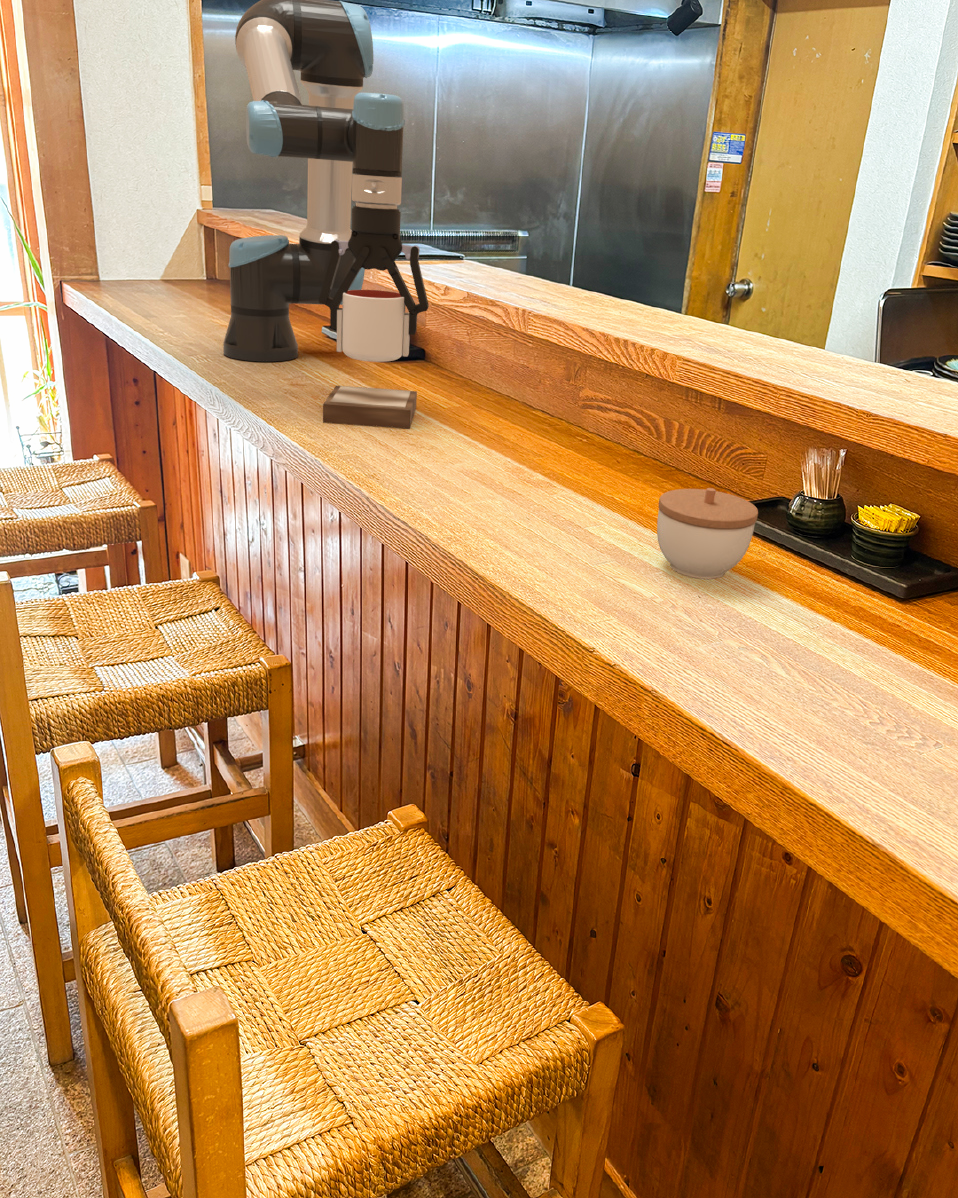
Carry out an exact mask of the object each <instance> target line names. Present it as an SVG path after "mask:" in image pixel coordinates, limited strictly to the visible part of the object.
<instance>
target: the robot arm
mask: <svg viewBox="0 0 958 1198" xmlns="http://www.w3.org/2000/svg"><path fill="white" fill-rule="evenodd" d="M234 37H235V38H234V41H235V49H236V53H237V56H238V58H239V61H240V62H241V64H242V65H243V66H244V68H246V72H247V78H248V81H249V86H250V91H251V95H252V101H250V102H248V104H247V105H246V110H245V132H246V133H245V135H246V136H245V137H246V145H247V149H248V150H249V151H250V152H251V153H252V154H255V155H262V156H268V157H270V158H277V157H280V158H294V159H295V158H296V159H297V158H298V159H307V209H306V210H307V212H306V214H307V218H306V219H307V223H306V226H305V228H304V229H303V230H301V232H299V235H298V239H299V240H298V243H290V240H289V238H288V236H286V235H282V234H278V235H274V234H273V235H272V234H271V235H257V236H255V235H254V236H248V237H243V238H238V239H236V240H233V241H232V242H231V244H230V246H229V250H228V251H229V257H228V258H229V259H228V260H229V262H228V268H229V285H230V288H229V289H230V293H229V294H230V318H229V322H228V325H227V329H226V333H225V336H224V339H223V343H222V344H223V355H224V356H226V357H228V358H230V359H231V358H232V359H235V360H239V361H240V360H242V361H247V362H248V361H249V362H268V363H269V362H281V361H282V362H283V361H291V360H294V359H296V358H298V356H299V345H298V342H297V339H296V335H295V332H294V330H293V325H292V323H291V320H290V305H292V304H293V305H325V306H327V307H328V308H329V310H330V315H329V316H330V317H329V319H330V320H329V326H330V330H336V352H337V353H342V352H343V349H342V311H343V307H340V306H343V293H347V291H348V290H363V288H362V287H363V284H364V279H365V273H366V271H365V270H377V271H383V272H384V271H386V270H387V272H388V275H389V276H390V278H391V279H392V281H393V283H394V285H395V287H396V290H397V291H398V293H400V295H401V297H404V303H405V308H406V309H407V311H408V312H405V315H404V338H403V354H402V357H408V356H409V354H410V336H415V335H416V333H417V327H418V314H419V313H422V312H423V313H424V312H427V311H428V309H429V301H428V296H427V292H426V288H425V283H424V280H423V274H422V270H421V266H420V262H419V260H420V247H419V246H418V245H407V244H403V242H402V241H401V215H402V214H401V212H402V211H400V209H398V206H400V205H401V204H402V189H403V188H402V187H403V186H402V184H403V183H402V182H403V178H402V174H403V173H402V171H403V152H404V151H403V146H404V145H403V144H404V126H405V124H406V123H405V121H406V120H405V118H404V117H405V115H404V113H405V112H404V101H403V99H402V98H401V96H399V95H396V94H388V93H380V92H361V91H362V89H363V88H364V78H365V79H367V78H370V77H372V75H373V70H374V42H373V34H372V28H371V23H370V20H369V17H368V14H367V12H366V9H364V7H362V6H360V5H359V4H355V3H350V2H346V1H342V0H259V1H257V2H256V3H254V4H252V6H250V7H249V8H248V9H247V10H246V11H245V12H244V13H243V15H242V16H241V17H240V19H239V21H238V23H237V26H236V30H235V36H234ZM294 71H300V83H301V84H302V85H303V87H304V88H305V89H306V91H307V94H308V105H307V104H303V101H302V98H301V93H300V90H299V87H298V83H297V80H296V76H295V72H294ZM352 202H354V203H355V205H354V206H353V207H352ZM401 253H403V254H404V256H405V259H406V260H407V261H409V265H410V270H411V275H412V279H413V282H414V288H415V291H416V296H417V300H418V304H417V303H416V302H415V300H414V299H413V296H412V294H411V292H410V290H409V288H408V286H407V284H406V282H405V280H404V278H403V277H402V274H401V273H400V270H399V267H398V266H397V263H396V260H397V259H398V258H399V256H400V254H401Z"/></svg>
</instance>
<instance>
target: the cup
mask: <svg viewBox="0 0 958 1198" xmlns="http://www.w3.org/2000/svg"><path fill="white" fill-rule="evenodd" d="M342 308H343V311H342V349H343V350H342V352H343V354H344V355H345V356H347V357H348V358H351V359H353V360H357V361H363V362H372V363H376V362H377V363H381V362H382V363H383V362H391V361H392V362H393V361H396V360H398V359H400V358H401V357H403V338H404V315H405V313H406V305H405V303H404V297H401V295H400V293H399V292H396V291H390V290H389V291H388V290H381V289H380V290H379V289H361V290H348V291H347V293H343V305H342Z"/></svg>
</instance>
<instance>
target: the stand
mask: <svg viewBox="0 0 958 1198" xmlns="http://www.w3.org/2000/svg"><path fill="white" fill-rule="evenodd" d="M417 393H418V392H417V391H416V390H403V389H390V388H377V387H376V388H374V387H362V386H350V385H335V386H334V387H333V389H332V391H330V394H329V395H328V396H327V397H326V399H325V401H324V402H323V404H322V423H325V424H339V425H352V426H353V425H354V426H364V427H365V426H367V427H380V428H381V427H382V428H395V429H407V430H409V429H411V427H412V423H413V419H414V416H415V413H416V410H417V397H418V396H417Z"/></svg>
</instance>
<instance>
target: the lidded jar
mask: <svg viewBox="0 0 958 1198" xmlns="http://www.w3.org/2000/svg"><path fill="white" fill-rule="evenodd" d="M657 514H658V515H657V523H656V524H657V525H656V528H657V529H656V534H657V535H656V536H657V542H658V546H659V549H660V552H661V553H662V555H663V556H664V559H666V561H668V563H669V566H670V568H671V569H672V571H674V572H676V573H677V574H680V575H681V576H685V577H688V578H693V579H698V580H716V579H719V578H721V577H724V575H725V573H726V572H728V571H730V570H732V568H735V566H737V565H738V564H739V563H740V562H741V561H742V560H743V558H744V557H745V555H746V553H747V551H748V549H749V548H750V547H749V546H750V544H751V541H752V539H753V535H754V531H755V527H756V526H755V525H756V522H757V521H758V520H757V519H758V517H759V510H758V508H757V507H756V506H755V504H753V503H752V502H750V501H749V500H746V499H745V498H742V497H739V496H736V495H733V494H730V493H726V492H723V491H717V490H716V489H715V488H713V487H707V488H706V489H704V488H703V489H700V488H679V489H673V490H669V491H667V492H666V491H665V492H664V493H662V494H661V495H660V496H659V499H658V513H657Z"/></svg>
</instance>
